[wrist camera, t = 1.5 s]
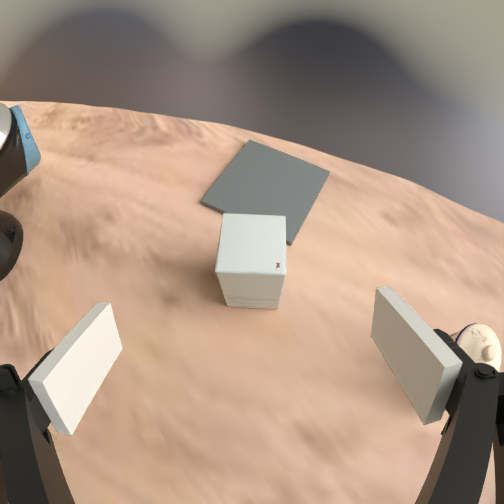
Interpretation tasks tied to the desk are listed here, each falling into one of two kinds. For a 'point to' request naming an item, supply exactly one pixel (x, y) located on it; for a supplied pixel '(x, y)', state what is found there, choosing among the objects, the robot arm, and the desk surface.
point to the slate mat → (267, 186)
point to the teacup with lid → (479, 344)
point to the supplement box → (252, 260)
